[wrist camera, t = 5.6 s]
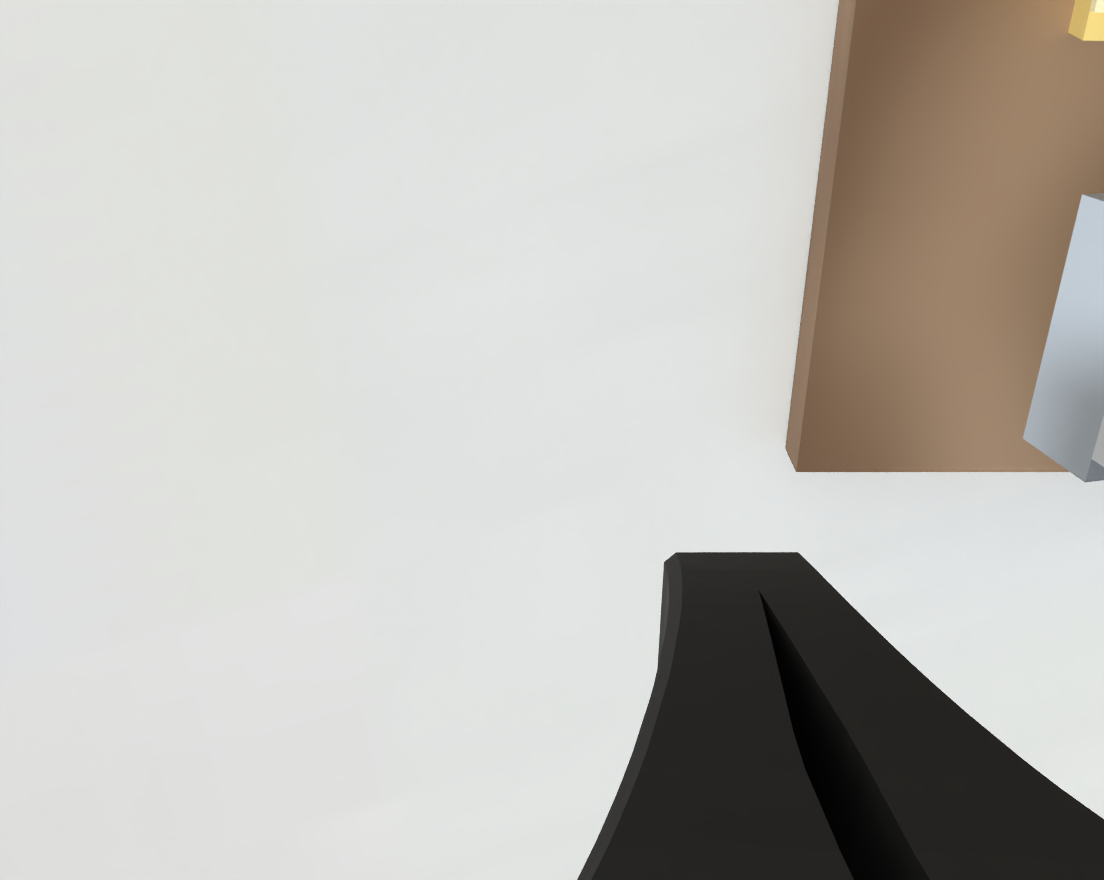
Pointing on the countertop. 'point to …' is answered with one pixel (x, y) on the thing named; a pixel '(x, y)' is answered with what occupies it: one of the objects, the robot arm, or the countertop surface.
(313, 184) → the countertop surface
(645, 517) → the countertop surface
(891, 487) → the countertop surface
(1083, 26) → the yellow rectangular block
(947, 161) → the walnut board
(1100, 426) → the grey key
